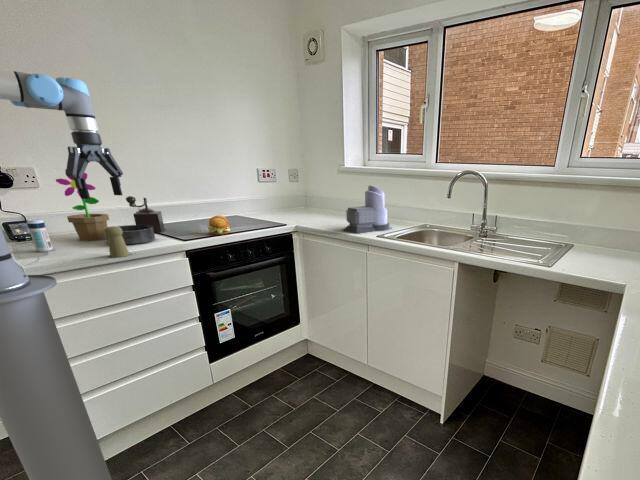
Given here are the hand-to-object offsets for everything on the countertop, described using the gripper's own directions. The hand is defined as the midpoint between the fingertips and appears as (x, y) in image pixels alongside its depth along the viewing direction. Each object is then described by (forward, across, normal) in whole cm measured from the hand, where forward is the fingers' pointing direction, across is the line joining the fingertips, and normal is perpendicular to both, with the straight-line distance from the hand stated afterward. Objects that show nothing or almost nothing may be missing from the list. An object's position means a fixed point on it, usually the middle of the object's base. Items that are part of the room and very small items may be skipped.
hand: (102, 197), depth 126 cm
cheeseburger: (+22, -49, +12) cm, 55 cm away
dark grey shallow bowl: (+22, -23, -14) cm, 35 cm away
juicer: (+22, -81, +84) cm, 119 cm away
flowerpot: (+22, -25, -34) cm, 48 cm away
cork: (+22, 0, 0) cm, 22 cm away
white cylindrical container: (+22, -1, -32) cm, 39 cm away
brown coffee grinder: (+22, -45, -23) cm, 55 cm away
